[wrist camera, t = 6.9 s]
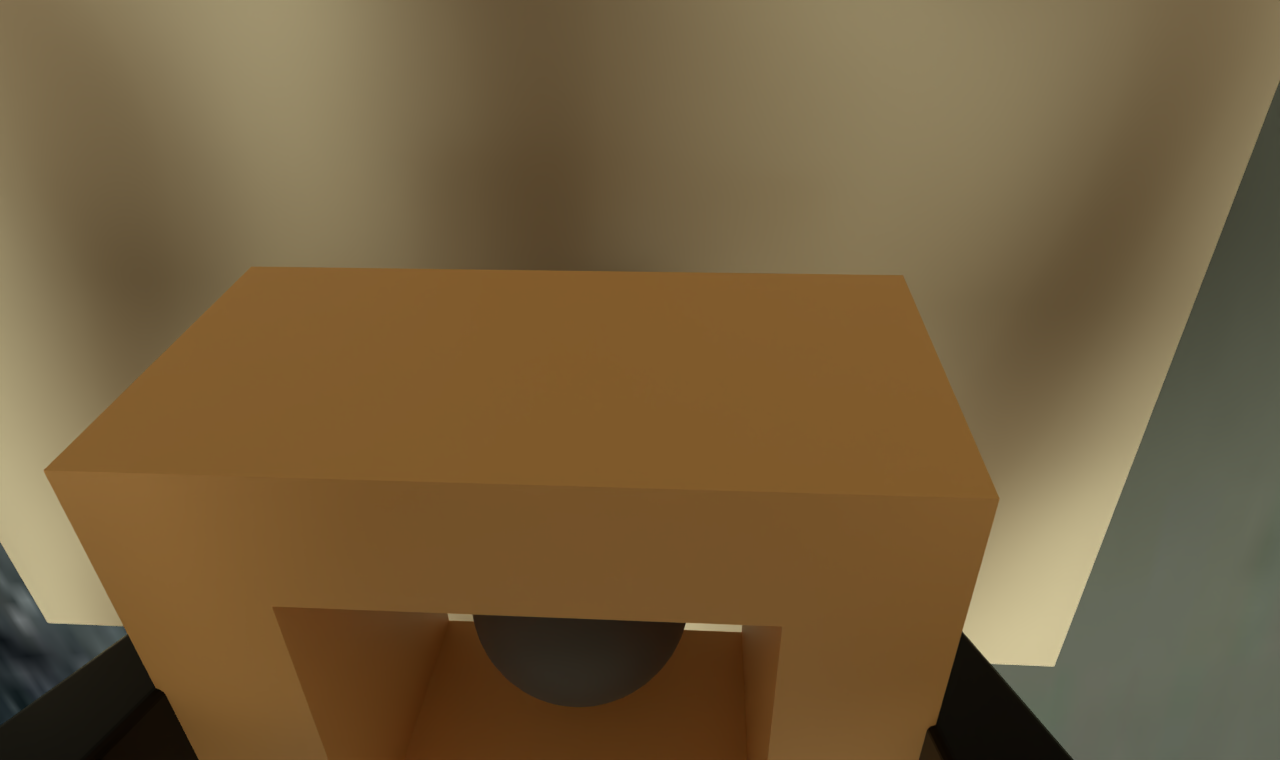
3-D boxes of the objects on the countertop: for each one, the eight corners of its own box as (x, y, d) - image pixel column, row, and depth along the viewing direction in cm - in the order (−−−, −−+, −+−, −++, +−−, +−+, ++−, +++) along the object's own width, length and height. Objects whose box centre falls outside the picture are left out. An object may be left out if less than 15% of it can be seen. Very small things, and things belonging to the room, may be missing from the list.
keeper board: (92, 569, 19) (-225, 954, 12) (-310, -207, 11) (-1703, -243, 5) (1029, 605, 17) (1213, 1057, 11) (1317, -245, 10) (2479, -369, 3)
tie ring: (372, 678, 11) (276, 923, 9) (251, 266, 8) (42, 470, 5) (830, 699, 11) (869, 961, 8) (902, 275, 8) (1000, 497, 5)
